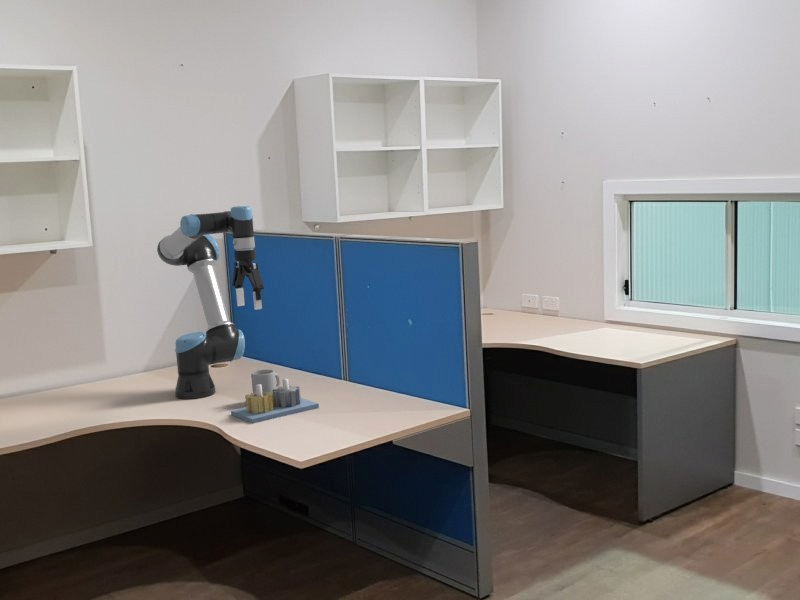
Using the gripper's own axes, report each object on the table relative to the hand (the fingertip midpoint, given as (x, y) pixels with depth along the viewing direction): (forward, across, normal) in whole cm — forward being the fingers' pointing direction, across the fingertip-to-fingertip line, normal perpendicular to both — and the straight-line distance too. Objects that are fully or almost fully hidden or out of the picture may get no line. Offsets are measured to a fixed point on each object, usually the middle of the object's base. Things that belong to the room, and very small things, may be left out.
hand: (249, 307), depth 338 cm
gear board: (+35, +19, -3) cm, 40 cm away
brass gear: (+33, +19, -8) cm, 39 cm away
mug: (+35, +3, +3) cm, 35 cm away
